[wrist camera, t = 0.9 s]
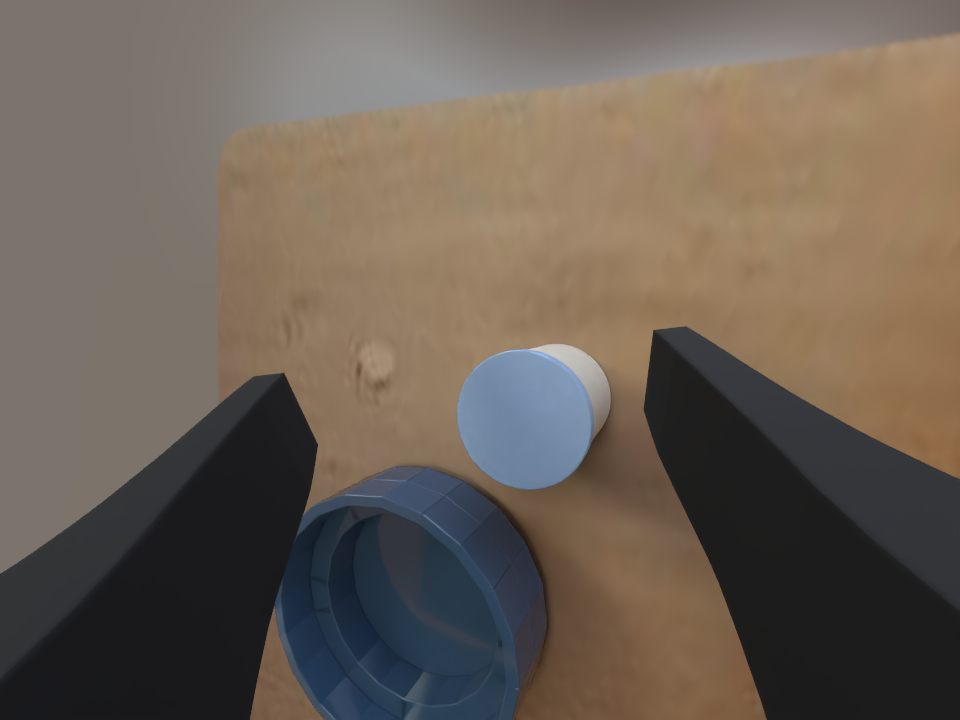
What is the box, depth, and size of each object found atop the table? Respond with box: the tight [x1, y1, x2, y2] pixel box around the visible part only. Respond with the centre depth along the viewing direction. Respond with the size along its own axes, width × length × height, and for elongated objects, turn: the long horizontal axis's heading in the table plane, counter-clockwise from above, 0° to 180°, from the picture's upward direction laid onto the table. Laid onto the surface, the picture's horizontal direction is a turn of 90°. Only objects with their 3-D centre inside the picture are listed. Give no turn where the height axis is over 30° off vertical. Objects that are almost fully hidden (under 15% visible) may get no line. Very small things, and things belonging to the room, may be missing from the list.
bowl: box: [274, 467, 547, 720], centre depth 25 cm, size 14×14×5 cm
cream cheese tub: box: [457, 344, 611, 490], centre depth 21 cm, size 6×6×6 cm
